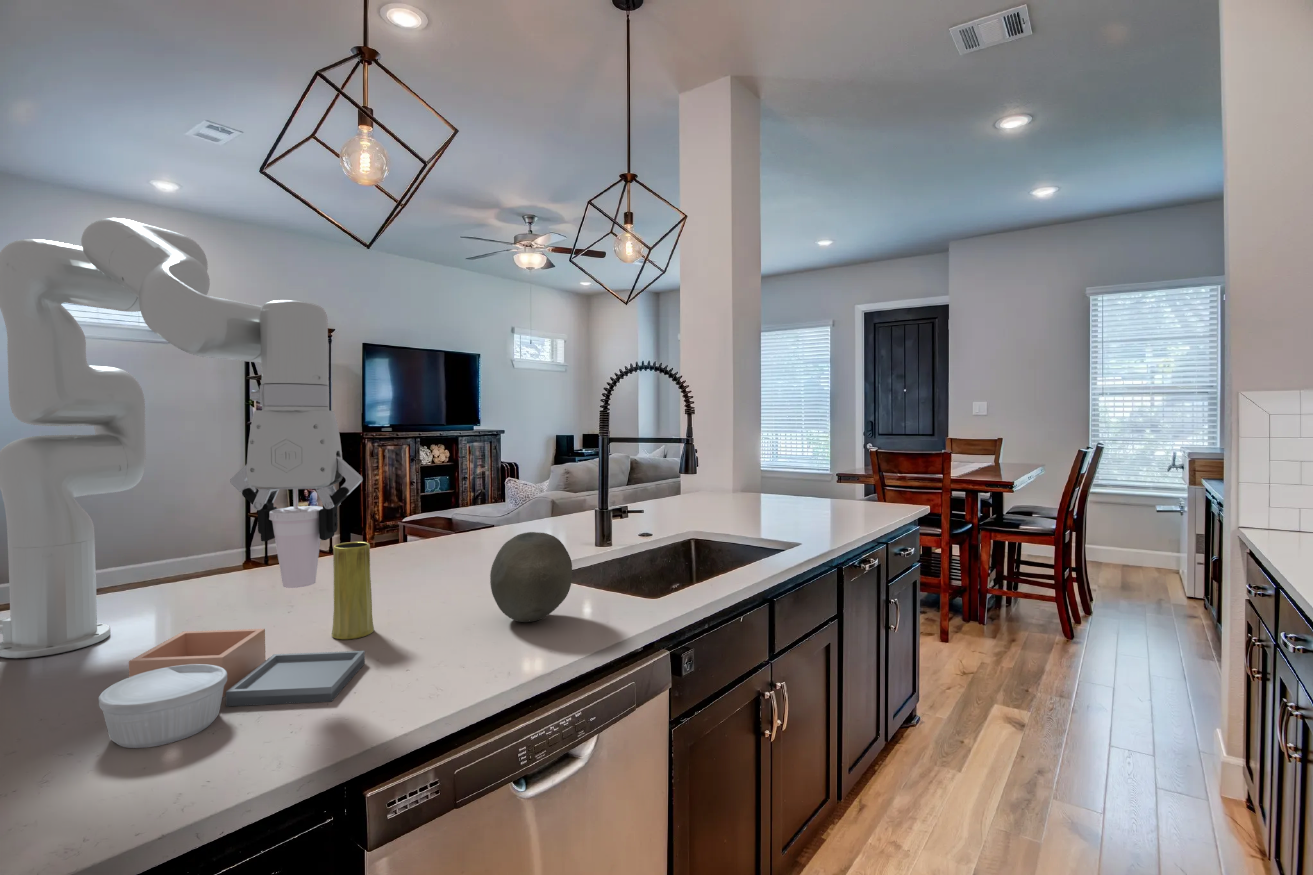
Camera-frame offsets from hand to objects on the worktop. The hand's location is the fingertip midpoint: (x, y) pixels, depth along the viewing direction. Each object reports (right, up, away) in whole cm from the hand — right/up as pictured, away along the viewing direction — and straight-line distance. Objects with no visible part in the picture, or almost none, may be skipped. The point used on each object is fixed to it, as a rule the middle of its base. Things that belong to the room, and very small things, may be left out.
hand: (298, 537), depth 82 cm
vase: (-2, -19, +20) cm, 27 cm away
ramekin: (-8, -20, -11) cm, 24 cm away
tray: (0, -19, +1) cm, 19 cm away
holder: (-13, -19, +1) cm, 23 cm away
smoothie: (0, -6, 0) cm, 6 cm away
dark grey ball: (+25, -18, +26) cm, 41 cm away
